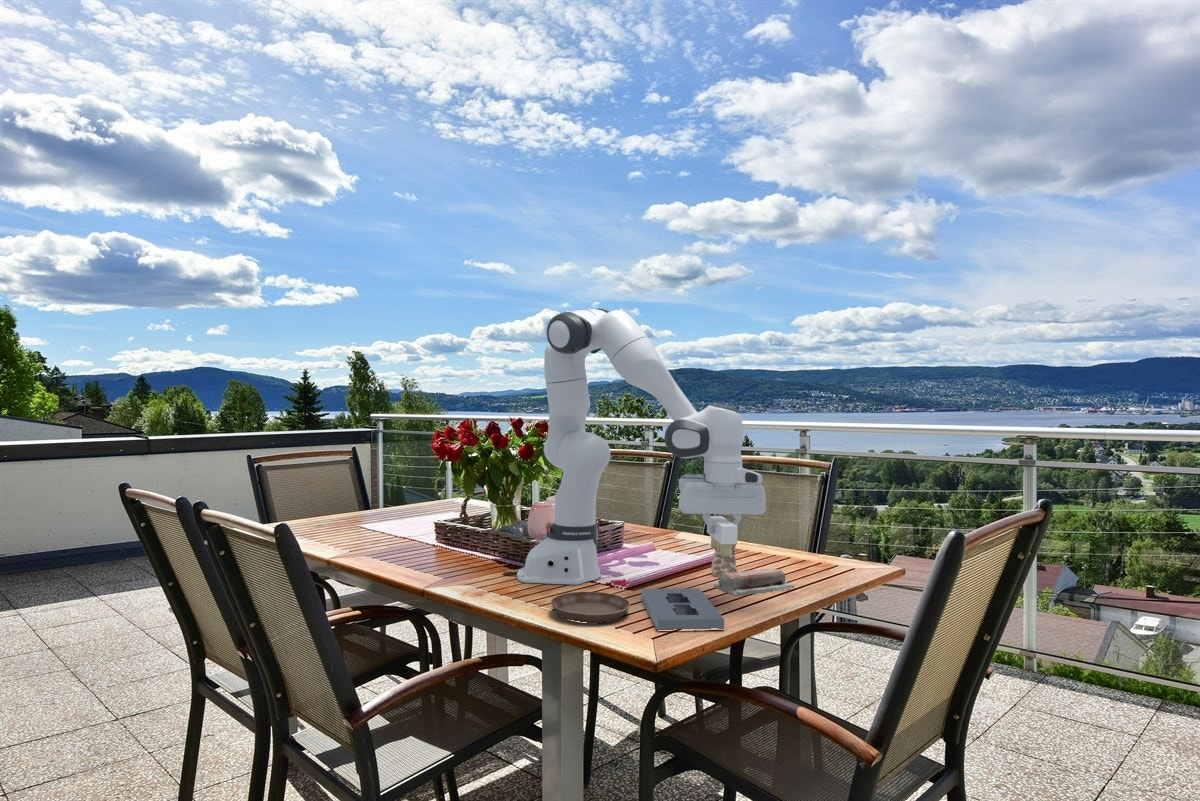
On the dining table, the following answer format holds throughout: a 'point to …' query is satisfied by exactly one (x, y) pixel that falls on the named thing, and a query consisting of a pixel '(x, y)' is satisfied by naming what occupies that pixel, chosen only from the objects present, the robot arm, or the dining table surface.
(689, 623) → the keyhole plate
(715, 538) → the white pronged plug block
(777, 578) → the packaged product
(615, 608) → the plant saucer
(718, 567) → the figurine
